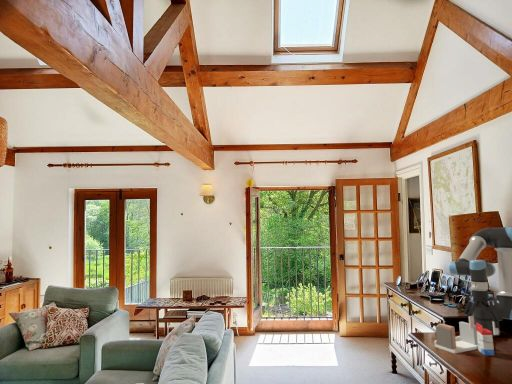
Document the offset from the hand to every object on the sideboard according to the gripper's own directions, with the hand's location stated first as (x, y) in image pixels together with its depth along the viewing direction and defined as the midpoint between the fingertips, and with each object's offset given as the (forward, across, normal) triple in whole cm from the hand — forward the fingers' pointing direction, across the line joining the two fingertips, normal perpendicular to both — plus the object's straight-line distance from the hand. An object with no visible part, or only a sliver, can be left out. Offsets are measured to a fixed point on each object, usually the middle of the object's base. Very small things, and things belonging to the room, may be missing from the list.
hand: (483, 331), depth 193 cm
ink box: (+11, 0, 0) cm, 11 cm away
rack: (+11, -13, -3) cm, 17 cm away
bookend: (+9, -13, +4) cm, 17 cm away
